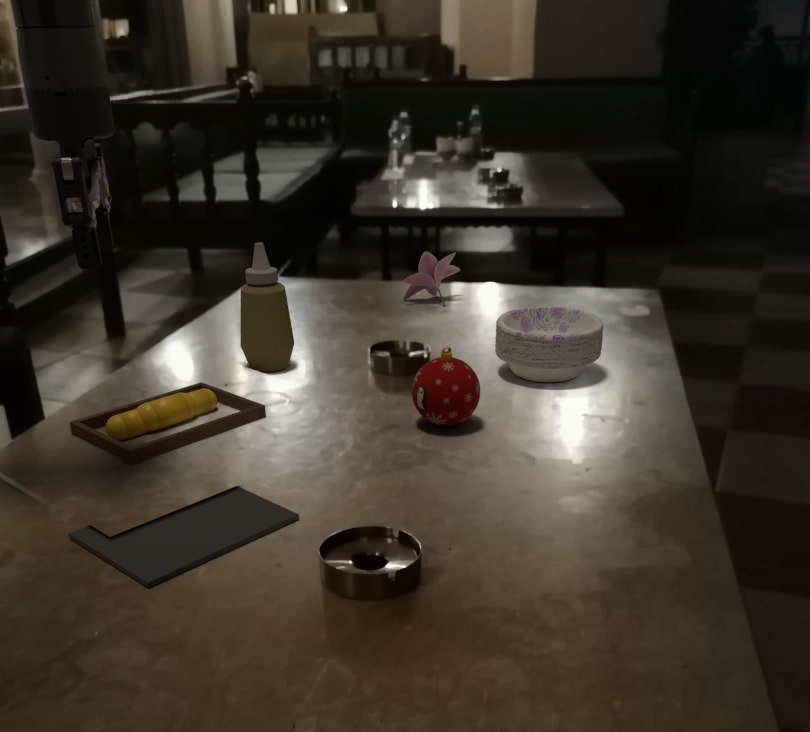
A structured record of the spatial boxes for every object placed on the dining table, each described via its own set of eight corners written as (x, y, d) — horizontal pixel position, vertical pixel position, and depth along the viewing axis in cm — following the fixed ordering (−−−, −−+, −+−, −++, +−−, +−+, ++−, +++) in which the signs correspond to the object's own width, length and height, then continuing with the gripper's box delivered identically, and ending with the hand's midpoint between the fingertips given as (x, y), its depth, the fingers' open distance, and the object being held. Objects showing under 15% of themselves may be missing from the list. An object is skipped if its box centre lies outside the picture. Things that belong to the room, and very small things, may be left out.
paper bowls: (518, 395, 125) (521, 338, 121) (479, 362, 137) (480, 310, 133) (618, 383, 128) (624, 328, 124) (570, 353, 141) (575, 302, 137)
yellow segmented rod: (121, 438, 107) (108, 410, 107) (110, 449, 110) (96, 422, 110) (229, 403, 117) (216, 378, 117) (215, 414, 120) (203, 389, 120)
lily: (470, 301, 173) (452, 253, 172) (475, 291, 162) (457, 239, 161) (411, 323, 174) (393, 275, 173) (412, 315, 162) (393, 263, 161)
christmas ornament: (493, 425, 115) (496, 348, 110) (440, 442, 110) (441, 362, 106) (449, 406, 121) (450, 333, 116) (398, 421, 116) (397, 345, 112)
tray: (133, 471, 104) (130, 451, 103) (72, 440, 112) (69, 421, 111) (266, 423, 116) (265, 405, 115) (203, 399, 124) (201, 382, 123)
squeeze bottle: (299, 358, 140) (291, 237, 131) (292, 375, 133) (283, 249, 124) (247, 358, 140) (236, 238, 132) (237, 375, 133) (224, 249, 125)
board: (148, 588, 81) (147, 582, 81) (69, 538, 90) (68, 533, 90) (299, 519, 93) (299, 514, 93) (216, 480, 101) (216, 475, 101)
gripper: (40, 81, 91) (72, 247, 99) (6, 87, 79) (45, 276, 87) (117, 79, 92) (142, 244, 100) (95, 85, 80) (126, 272, 87)
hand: (97, 259), depth 93 cm, fingers open, 8 cm apart
